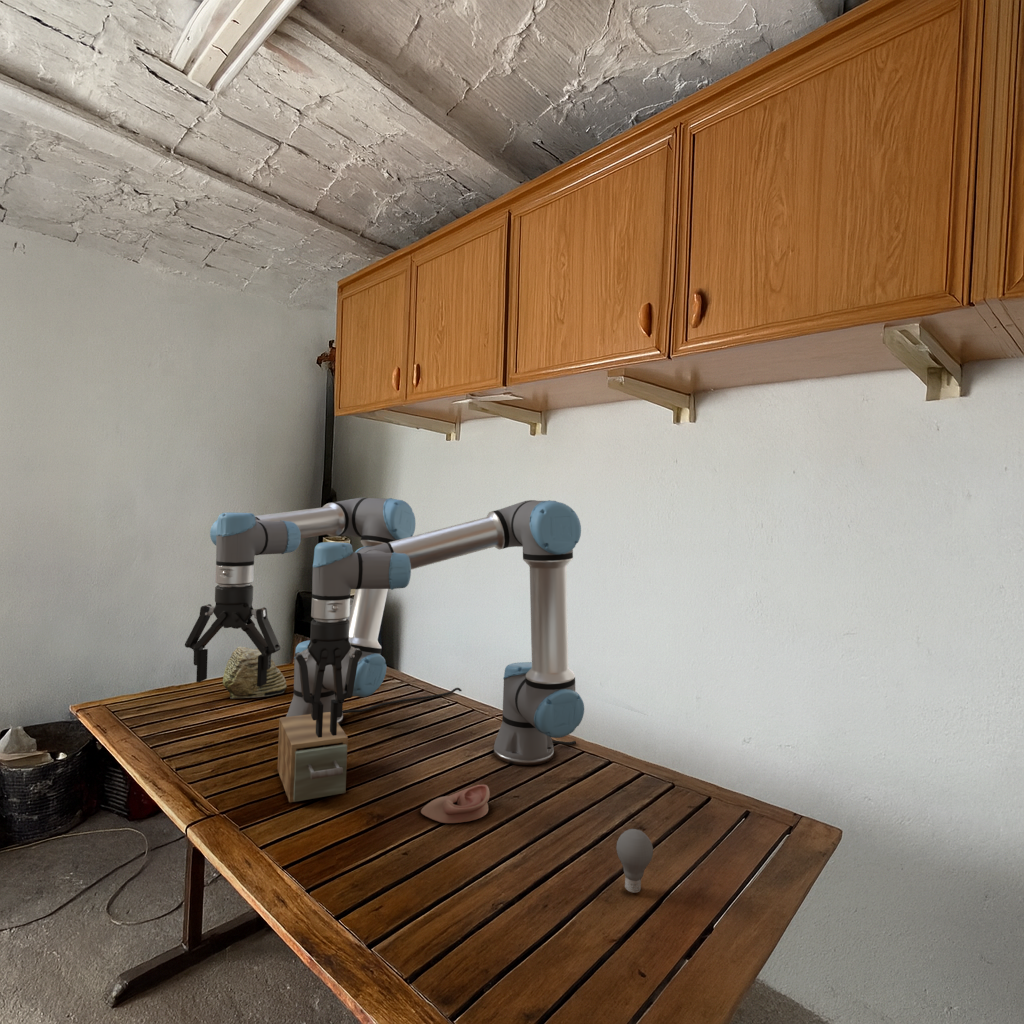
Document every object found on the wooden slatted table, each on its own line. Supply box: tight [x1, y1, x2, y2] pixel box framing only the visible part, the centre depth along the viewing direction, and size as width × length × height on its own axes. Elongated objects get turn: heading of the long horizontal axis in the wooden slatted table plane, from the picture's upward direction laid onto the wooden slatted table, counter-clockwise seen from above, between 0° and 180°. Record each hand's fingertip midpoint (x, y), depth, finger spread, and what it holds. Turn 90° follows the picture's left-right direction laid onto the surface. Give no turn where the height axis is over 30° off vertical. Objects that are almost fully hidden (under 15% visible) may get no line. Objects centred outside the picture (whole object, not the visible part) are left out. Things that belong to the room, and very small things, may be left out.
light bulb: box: [615, 828, 654, 894], centre depth 106 cm, size 6×6×10 cm
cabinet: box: [277, 712, 349, 804], centre depth 141 cm, size 17×12×12 cm
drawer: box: [293, 743, 348, 803], centre depth 136 cm, size 21×10×10 cm, turn 28°
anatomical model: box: [420, 784, 491, 824], centre depth 130 cm, size 13×4×12 cm
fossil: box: [222, 646, 288, 699], centre depth 198 cm, size 9×18×15 cm, turn 132°
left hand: (231, 682), depth 136 cm, fingers open, 13 cm apart
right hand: (326, 733), depth 129 cm, fingers open, 2 cm apart
